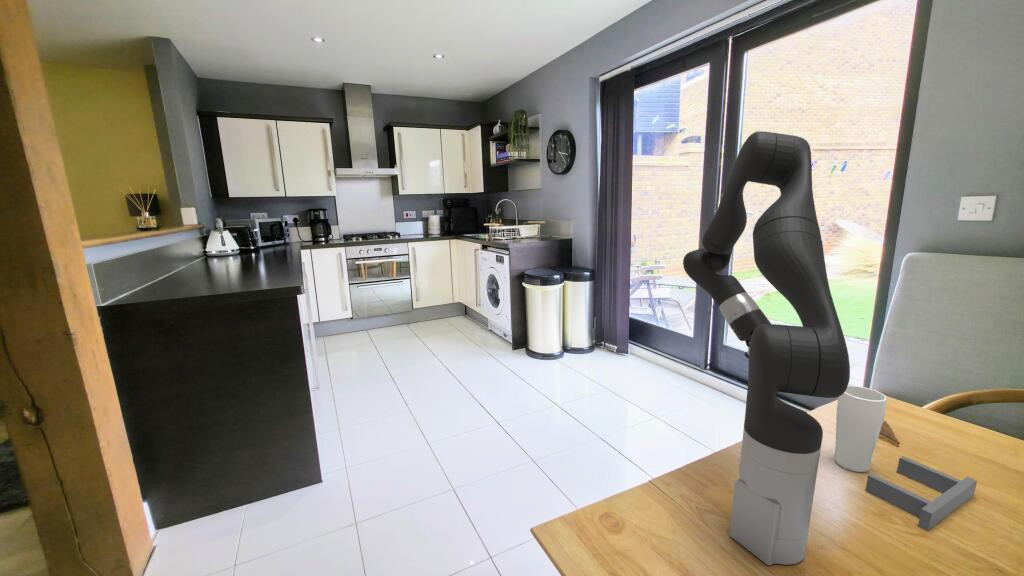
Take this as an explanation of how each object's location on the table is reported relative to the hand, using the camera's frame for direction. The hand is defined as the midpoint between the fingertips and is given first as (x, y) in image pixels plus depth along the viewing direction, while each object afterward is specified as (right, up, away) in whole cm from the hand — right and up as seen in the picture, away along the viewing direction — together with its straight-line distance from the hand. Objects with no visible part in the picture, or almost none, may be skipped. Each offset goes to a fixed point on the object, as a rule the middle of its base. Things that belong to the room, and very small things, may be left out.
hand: (792, 385), depth 87 cm
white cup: (+6, -14, -8) cm, 17 cm away
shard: (+22, -12, +4) cm, 25 cm away
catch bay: (+10, -15, -17) cm, 25 cm away
